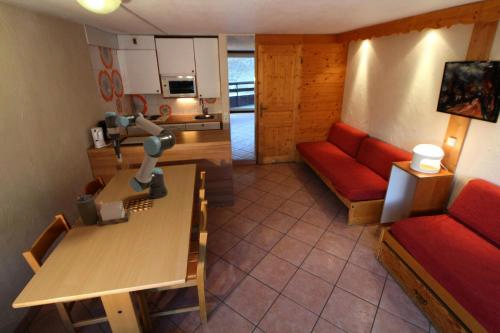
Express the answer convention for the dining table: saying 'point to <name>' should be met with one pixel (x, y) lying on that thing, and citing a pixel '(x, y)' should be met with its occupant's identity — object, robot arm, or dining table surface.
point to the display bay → (114, 221)
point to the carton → (112, 210)
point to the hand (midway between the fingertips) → (120, 161)
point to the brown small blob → (99, 205)
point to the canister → (87, 209)
